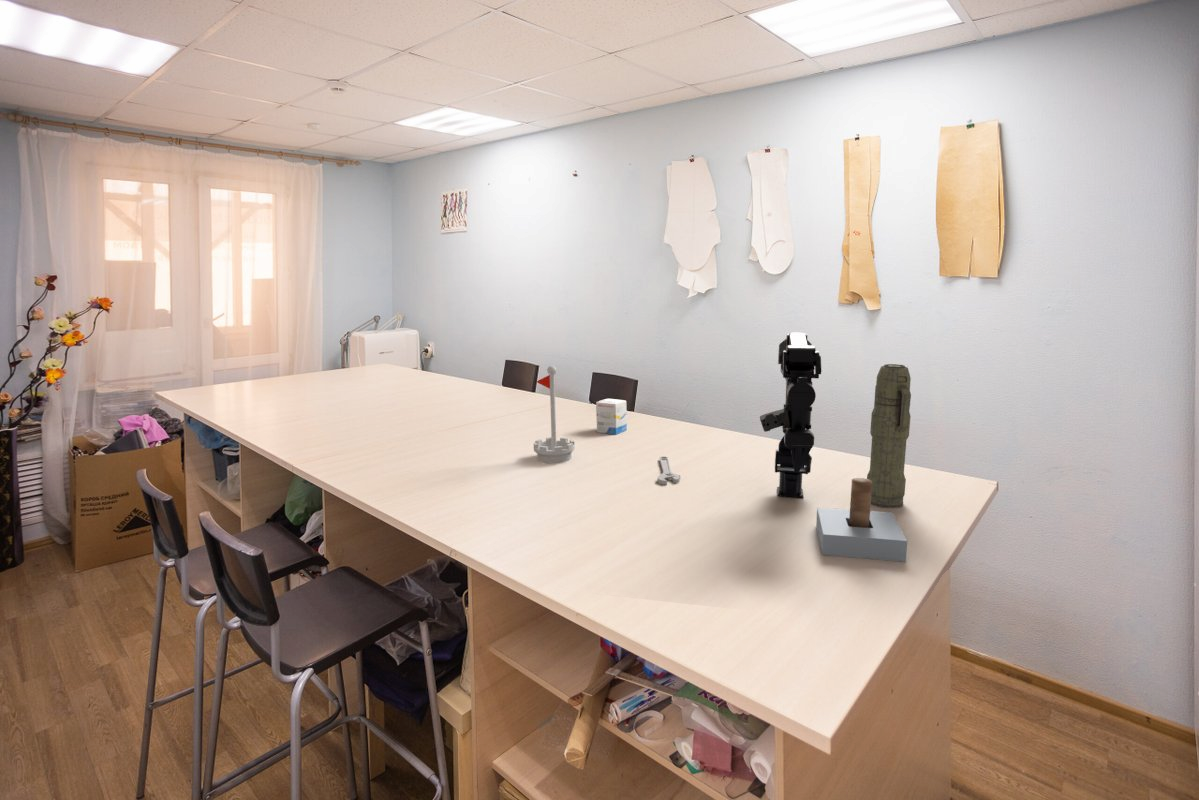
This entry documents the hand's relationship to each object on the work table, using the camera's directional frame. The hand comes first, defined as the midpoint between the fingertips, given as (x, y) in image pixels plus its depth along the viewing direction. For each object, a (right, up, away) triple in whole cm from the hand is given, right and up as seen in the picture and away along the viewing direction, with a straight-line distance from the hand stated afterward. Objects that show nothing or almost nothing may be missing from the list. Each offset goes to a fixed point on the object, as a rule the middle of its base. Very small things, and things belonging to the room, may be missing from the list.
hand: (795, 465), depth 152 cm
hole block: (+10, -15, -12) cm, 22 cm away
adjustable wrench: (-26, -6, +40) cm, 48 cm away
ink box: (-41, +3, +91) cm, 100 cm away
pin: (+10, -15, -12) cm, 21 cm away
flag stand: (-61, -4, +56) cm, 83 cm away
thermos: (+26, -11, +12) cm, 31 cm away
